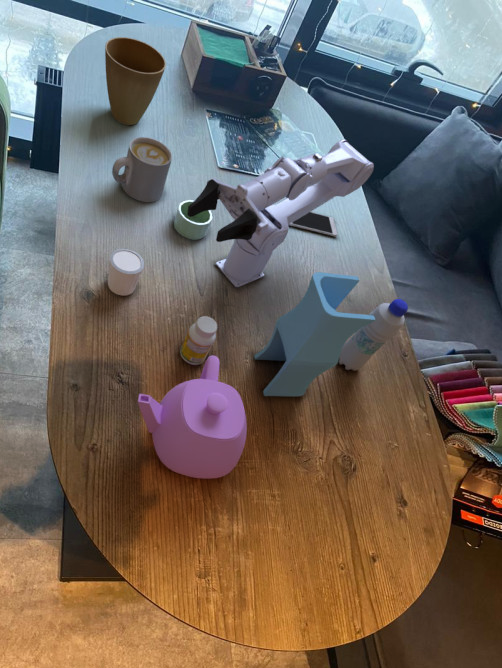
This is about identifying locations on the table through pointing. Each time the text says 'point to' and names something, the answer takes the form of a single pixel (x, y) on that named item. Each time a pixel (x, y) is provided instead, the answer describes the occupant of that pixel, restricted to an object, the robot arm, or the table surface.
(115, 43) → the plant pot
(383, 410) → the table surface
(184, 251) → the table surface
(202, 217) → the cup
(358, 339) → the bottle
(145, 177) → the coffee mug
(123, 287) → the white round canister
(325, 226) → the smartphone
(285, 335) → the blue tall flared piece
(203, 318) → the supplement bottle
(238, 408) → the teapot
